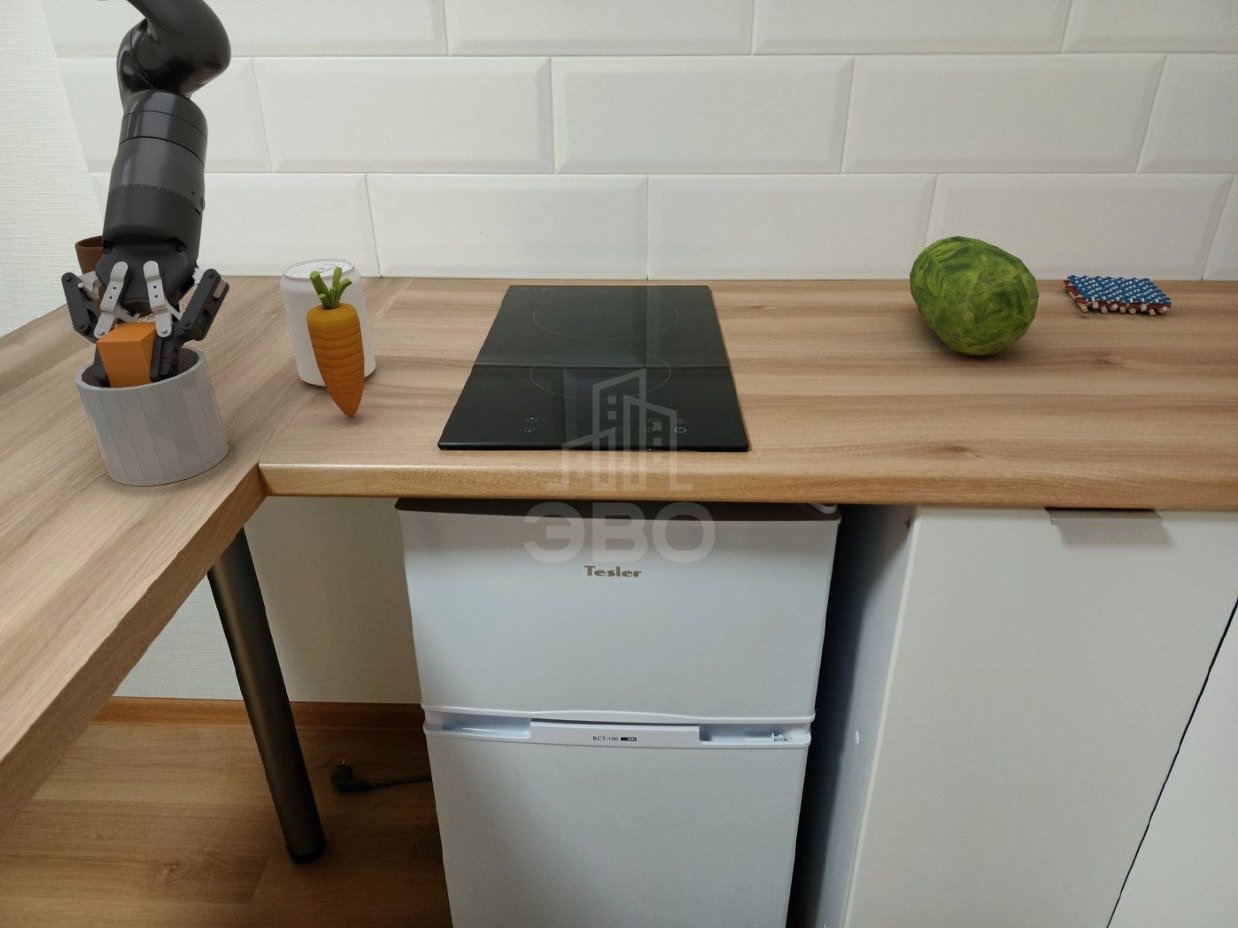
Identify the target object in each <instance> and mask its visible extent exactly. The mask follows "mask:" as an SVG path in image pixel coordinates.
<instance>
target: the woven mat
mask: <svg viewBox="0 0 1238 928" xmlns="http://www.w3.org/2000/svg"><path fill="white" fill-rule="evenodd" d="M1066 278H1067V279H1063V281H1062V283H1063V284H1064V285H1063V288H1064V289H1065V290H1067V291H1068V293H1069V296H1070V297H1071V298H1072V299H1073V301H1074V302H1077V305H1078V306H1079V308H1080V309H1081V311H1083V313H1086V312H1088V311H1089V309H1088V308H1091V309H1093V310H1098V309H1099V310H1100V312H1102V314H1107V313H1108V310H1109V311H1111V312H1114V311H1117V309H1118V308H1119V312H1120V313H1123V314H1125V312H1126V311H1127V312H1129V314H1132V315H1134V314H1136V312H1137V311H1140V312H1147V313H1148V314H1149V315H1150V316H1154V315H1156V312H1155V310H1156V311H1157V312H1158V313H1160V314H1165V313H1166V312H1167V311H1168V309H1171V308H1172V302H1171V297H1168V296H1167V293H1163V290H1162V289H1159V286H1157V285H1154V284H1155V283H1154V282H1152V281H1150V280H1151V279H1150V278H1147V277H1145V278H1144V277H1143V278H1141V277H1138V278H1137V277H1135V276H1134V277H1128V278H1124V277H1123V276H1114V277H1111V276H1108V275H1107V276H1100V275H1096V276H1094V275H1092V276H1091V277H1090V276H1088V275H1086V274H1084V275H1080V274H1079V275H1078V276H1077V275H1075V274H1070V275H1068V276H1066ZM1154 309H1155V310H1154Z"/></svg>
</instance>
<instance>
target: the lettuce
mask: <svg viewBox="0 0 1238 928" xmlns="http://www.w3.org/2000/svg"><path fill="white" fill-rule="evenodd" d="M1037 284H1038V283H1037V280H1036V277H1035V276H1034V274H1033V273H1032V272H1031V271H1030V270H1029V268H1028V267H1027V266H1026V265H1025V263H1024V262H1023V259H1021V258H1019V257H1018V256H1016V255H1013V254H1011V253H1009V252H1007V251H1006V250H1004V249H1002V248H1001V247H999V246H996V245H995V244H992V243H988V242H986V241H984V240H982V239H979V238H973V237H972V238H971V237H967V236H962V235H961V236H960V235H955V236H950V237H946V238H940V239H937V240H936V241H935V240H934V241H933V242H932V243H931V244H929V245H928V246H926V247H925V248H923V250H922V251H921V252H920V253H919V254H918V256H916V258H915V259H914V262H913V263H912V266H911V270H910V272H909V288H910V295H911V297H912V299H913V302H914V303H915V304H916V306H917V307H916V308H917V310H918V313H919V314H920V316H921V317H922V319H923V320H924V322H925V324H926V325H927V326H928V327H929V328H930V329H931V330H932V331H933V332H934V333H935V334H936V335H937V336H938V338H939V339H940V340H941V341H942V342H943V343H944V344H945V345H946V346H947V347H948V348H949V350H951V351H953V352H956V353H958V354H962V355H964V356H967V357H977V356H979V357H980V356H990V355H993V354H996V353H999V352H1001V351H1003V350H1006V349H1007V348H1010V347H1011V346H1013V345H1015V344H1016V343H1017V342H1018V341H1019V340H1020V339H1021V338H1022V337H1024V335H1026V333H1027V332H1028V330H1029V329H1030V327H1031V325H1032V324H1033V321H1034V320H1035V318H1036V314H1037V309H1038V304H1039V299H1040V293H1039V289H1038V285H1037Z"/></svg>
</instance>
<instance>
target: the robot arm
mask: <svg viewBox="0 0 1238 928" xmlns="http://www.w3.org/2000/svg"><path fill="white" fill-rule="evenodd" d="M98 1H101V2H106V1H107V0H98ZM126 2H127V3H129V4H130V5H131V6H133V7H134V8H135V10H137V11H138V12H139V13H140V14H141V15H142V16H143V17H144V18H142V19H141V20H140V21H139V22H138V23H136V24H135V25H134V26H133V27H131V28H130V29H129V30H128V31H127V32H126V33H125V35H123V37H122V40H121V42H120V44H119V47H118V51H117V55H116V62H115V64H116V65H115V67H116V79H117V83H118V84H117V85H118V91H119V97H120V102H121V107H122V110H123V114H122V118H121V124H120V130H119V138H118V145H117V151H116V155H115V159H114V161H113V164H112V168H111V172H110V177H109V184H108V192H107V199H106V206H105V213H104V219H103V226H102V227H103V228H102V234H101V235H102V243H103V255H102V257H101V259H100V260H99V262H98V263H97V264H96V267H95V271H92V272H89V273H86V274H81V275H78V276H77V275H76V274H75V273H74V272H73V271H68V272H65V273H63V274H62V275H61V278H60V281H61V285H62V289H63V293H64V296H65V300H66V304H67V308H68V312H69V315H70V320H71V324H72V328H73V330H74V331H75V332H76V333H78V334H79V335H80V336H82V337H83V338H85V339H86V340H88V341H89V342H90V343H92V344H94V345H95V350H94V357H93V361H94V363H93V364H94V365H93V371H92V372H93V375H94V377H95V378H97V380H98V382H99V383H100V384H101V385H103V386H104V387H106V388H111V386H110V383H109V380H108V377H107V374H106V371H105V368H104V365H103V362H102V359H101V356H100V353H99V350H98V347H97V344H96V342H97V341H98V340H99V339H101V338H102V337H103V336H105V335H106V334H108V333H109V332H110V331H112V330H113V329H114V328H116V327H117V326H118V325H120V324H121V323H129V322H138V320H139V317H140V316H139V315H140V314H142V313H145V312H149V311H151V312H150V313H152V314H153V316H154V322H155V323H156V330H157V334H158V335H159V338H158V339H154V340H153V348H152V357H151V365H150V373H149V378H150V381H151V382H152V383H156V382H159V381H162V380H166V379H169V378H172V377H175V376H177V374H178V364H179V356H180V349H181V347H182V346H183V345H184V346H185V344H186V343H188V342H191V341H195V342H201V341H204V340H205V339H206V337H207V335H208V333H209V331H210V329H211V326H212V325H213V323H214V321H215V319H216V317H217V315H218V313H219V311H220V309H221V306H222V305H223V303H224V301H225V299H226V296H227V295H228V293H229V291H230V288H231V287H230V284H229V283H228V281H227V280H226V279H225V278H224V277H223V276H222V274H221V273H220V272H218V271H217V270H216V268H207V269H201V268H200V267H199V265H198V262H197V261H198V259H199V253H200V247H201V236H202V225H203V217H204V211H205V209H206V200H205V198H206V182H205V170H206V159H207V152H208V151H207V150H208V141H209V127H208V120H207V118H206V116H205V113H204V112H203V110H202V109H201V107H200V106H199V105H198V104H197V103H196V102H194V101H193V100H192V99H191V98H192V96H193V94H195V93H196V92H197V91H199V90H201V89H202V88H203V87H205V86H206V85H208V84H209V83H211V82H212V81H214V80H215V79H217V78H218V77H220V76H221V75H223V74H224V73H225V72H226V70H227V69H228V68H229V66H230V64H231V60H232V47H231V42H230V38H229V36H228V33H227V30H226V28H225V26H224V24H223V23H222V21H221V19H220V18H219V16H218V15H217V14H216V12H215V11H214V10H213V9H212V7H211V6H210V5H209V4H208V3H207V2H206V1H205V0H126ZM101 285H103V287H104V288H105V290H106V292H105V295H104V297H103V300H102V302H101V305H100V310H101V316H99V315H98V311H97V307H96V304H95V300H98V299H99V296H98V290H99V287H100V286H101ZM192 288H193V289H194V291H193V294H192V295H191V298H190V299H189V301H188V303H187V305H186V307H185V309H184V311H183V305H182V300H183V299H184V297H186V295H187V294H188V293H189V292H190V290H192ZM121 308H122V309H124V310H122V309H121Z"/></svg>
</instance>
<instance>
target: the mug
mask: <svg viewBox="0 0 1238 928" xmlns="http://www.w3.org/2000/svg"><path fill="white" fill-rule="evenodd" d="M74 248H75V253H76V258H77V261H78V265H79V268H80V271H81V275H83V274H86V273H89V272H92V271H95V267H96V264H97V263H98V262H99V260H100V259H101V257H102V255H103V243H102V234H101V235H95V236H92V237H86V238H84V239H81V240H78V241H77V242H76V243H74ZM105 292H106V290H105V288H104V287H103V285H101V286H100V287H99V290H98V296H99V299H98V300H95V304H96V307H97V311H98V315H99V317H100V316H101V310H100V305H101V302H102V300H103V297H104V295H105ZM121 309H122V308H121ZM122 310H124V309H122ZM150 313H152V312H151V311H149V312H145V313H142V314H140V315H139V317H141V316H144V315H148V314H150Z"/></svg>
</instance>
